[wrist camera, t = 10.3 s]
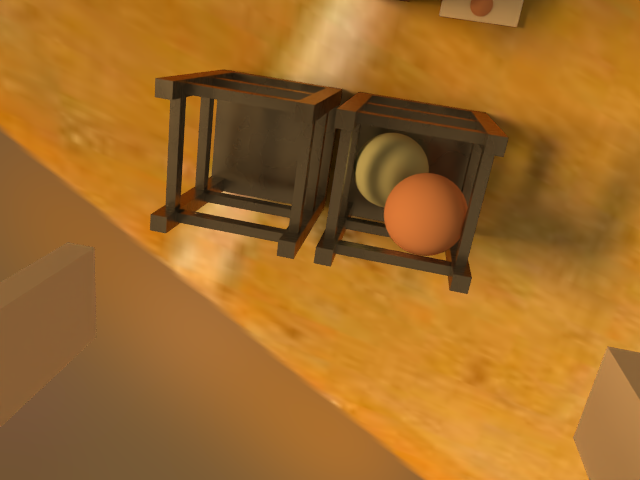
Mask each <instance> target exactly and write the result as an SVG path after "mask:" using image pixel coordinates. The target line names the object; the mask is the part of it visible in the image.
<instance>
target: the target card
mask: <svg viewBox="0 0 640 480" xmlns="http://www.w3.org/2000/svg"><path fill="white" fill-rule="evenodd" d="M523 1H524V0H442V4H441V8H440V13H439V16H442V17H449V18H456V19H463V20H470V21H476V22H483V23H490V24H497V25H504V26H511V27H517V25H518V21H519V17H520V13H521V9H522V5H523Z"/></svg>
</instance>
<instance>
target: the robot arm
mask: <svg viewBox="0 0 640 480" xmlns="http://www.w3.org/2000/svg"><path fill="white" fill-rule="evenodd" d="M95 295H96V294H95V249H94V247H89V246H84V245H79V244H74V243H69V242H68V243H66V244H64V245H62V246H61V247H59V248H57V249H55V250H54V251H52V252H50V253H49V254H47V255H46V256H44V257H42V258H40V259H39V260H37V261H35V262H34V263H32V264H30V265H28V266H27V267H25V268H23V269H22V270H20V271H19V272H17V273H15V274H13V275H12V276H10V277H8V278H7V279H5V280H3V281H2V282H0V427H1V426H2V425H3V424H4V423H5V422H6V421H7V420H9V419H10V418H11V417H12V416H13V415H14V414H15V413H16V412H17V411H18V410H19V409H20V408H21V407H22V406H23V405H24V404H26V403H27V402H28V401H29V400H30V399H31V398H32V397H33V396H34V395H35V394H36V393H37V392H38V391H39V390H41V389H42V388H43V387H44V386H45V385H46V384H47V383H48V382H49V381H50V380H51V379H52V378H53V377H54V376H55V375H56V374H57V373H59V372H60V371H61V370H62V369H63V368H64V367H65V366H66V365H67V364H68V363H69V362H70V361H71V360H72V359H74V358H75V357H76V356H77V355H78V354H79V353H80V352H81V351H82V350H83V349H84V348H85V347H86V346H87V345H88V344H90V343H91V342H92V341H93V340H94V339H95V338H96V296H95ZM573 438H574V441H575V443H576V446H577V449H578V451H579V454H580V457H581V459H582V462H583V464H584V467H585V470H586V472H587V475H588V477H589V480H640V353H638V352H633V351H628V350H623V349H618V348H613V347H607V349H606V352H605V354H604V357H603V360H602V362H601V365H600V368H599V370H598V373H597V376H596V378H595V381H594V384H593V386H592V389H591V392H590V394H589V397H588V400H587V403H586V405H585V408H584V411H583V413H582V416H581V419H580V421H579V424H578V427H577V429H576V432H575V435H574V437H573Z"/></svg>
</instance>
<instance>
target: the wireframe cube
mask: <svg viewBox="0 0 640 480" xmlns="http://www.w3.org/2000/svg"><path fill="white" fill-rule="evenodd" d="M193 95H194V96H200V97H201V107H200V123H199V138H198V154H197V169H196V185H195V187H194V188H192V189H190V190H189V191H187V192H186V193H184V194H182V195H181V181H182V163H183V144H184V126H185V108H186V97H188V96H193ZM341 96H342V89H339V88H333V87H327V86H321V85H314V84H308V83H302V82H296V81H290V80H284V79H278V78H272V77H266V76H260V75H253V74H247V73H241V72H235V71H229V70H216V71H208V72H200V73H193V74H185V75H177V76H169V77H161V78H156V81H155V97H158V98H163V99H169V100H170V122H169V144H168V166H167V188H166V205H165V206H163V207H162V208H160V209H158V210H157V211H155V212H154V213H152V214H151V222H150V230H152V231H157V232H162V233H167V232H169V231H170V230H171V229H173V228H174V227H175V226H177V225H178V224H179V223H184V224H189V225H194V226H199V227H204V228H209V229H214V230H219V231H225V232H230V233H235V234H240V235H245V236H250V237H255V238H260V239H265V240H270V241H275V242H278V250H277V256H281V257H286V258H291V259H294V257H295V256H296V254H297V252H298V251H299V249H300V247H301V246H302V244H303V242H304V241H305V239H306V237H307V236H308V234H309V232H310V231H311V229H312V227H313V226H314V224H315V222H316V221H317V219H318V217H319V216H320V214H321V212H322V211H323V209H324V207H325V201H326V195H327V188H328V182H329V175H330V168H331V162H332V155H333V149H334V142H335V135H336V129H337V128H334V125H335V118H336V112H337V108H339V107H340V103H341ZM214 99H217V113H216V126H215V139H214V153H213V166H212V176H211V177H210V178H208V175H209V161H210V148H211V134H212V120H213V106H214ZM223 191H226V192H231V193H236V194H241V195H247V196H252V197H257V198H262V199H268V200H273V201H278V202H284V203H289V204H292V206H288V205H283V204H278V203H272V202H267V201H262V200H256V199H251V198H246V197H241V196H235V195H230V194H225V193H221V192H223ZM208 202H210V203H215V204H220V205H225V206H230V207H236V208H241V209H246V210H251V211H256V212H262V213H267V214H272V215H277V216H282V217H287V218H290V223H289V226H288V228H287V229H281V228H276V227H271V226H265V225H260V224H255V223H250V222H245V221H240V220H235V219H230V218H224V217H219V216H214V215H209V214H204V213H199V212H196V211H197V210H198V209H200V208H201V207H202V206H204V205H205V204H206V203H208Z"/></svg>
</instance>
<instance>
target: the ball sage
mask: <svg viewBox="0 0 640 480" xmlns="http://www.w3.org/2000/svg"><path fill="white" fill-rule="evenodd" d="M419 173H429V165H428V160H427V157H426V154H425V152H424V151H423V149H422V147H421V146H420V145H419V144H418V143H417V142H416V141H415V140H413V139H412V138H410V137H408V136H406V135H403V134H400V133H384V134H380V135H377V136H375V137H373V138H372V139H370V140H369V141H367V142H366V143H365V144H364V145H363V146H362V148H361V149H360V150H359V152H358V154H357V156H356V159H355V163H354V179H355V183H356V186H357V188H358V190H359V191H360V193H361V194H362V195H363V196H364V197H365V198H366V199H367V200H368V201H370V202H371V203H373V204H375V205H377V206H380V207H385V204H386V200H387V198H388V196H389V194H390V192H391V191H392V190H393V188H394V187H395V186H396V185H397V184H398V183H399V182H401V181H402V180H404V179H405V178H407V177H409V176H412V175H415V174H419Z"/></svg>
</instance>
